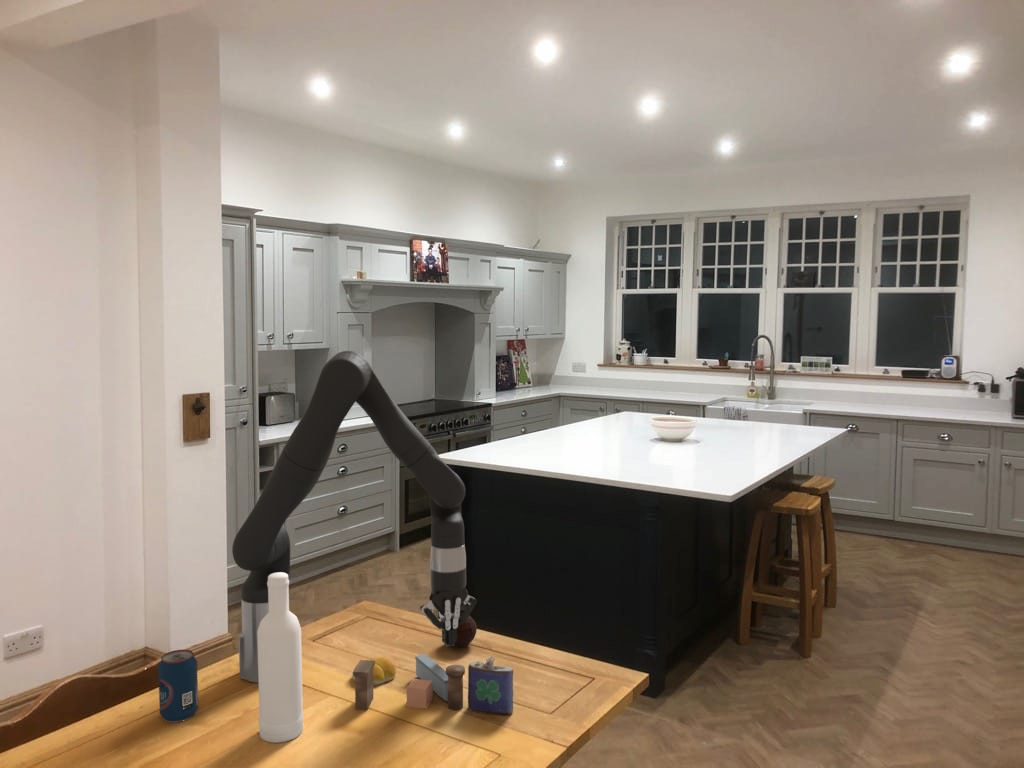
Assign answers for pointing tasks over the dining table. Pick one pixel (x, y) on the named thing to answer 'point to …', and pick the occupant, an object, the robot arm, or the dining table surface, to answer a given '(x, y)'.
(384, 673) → the bread roll
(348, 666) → the dining table surface
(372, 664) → the stepped wooden slab
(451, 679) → the dark brown cylindrical piece
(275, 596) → the bottle
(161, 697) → the soda can
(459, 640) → the dark maroon ball
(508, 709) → the flask
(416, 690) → the block
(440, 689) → the grey rectangular bar
